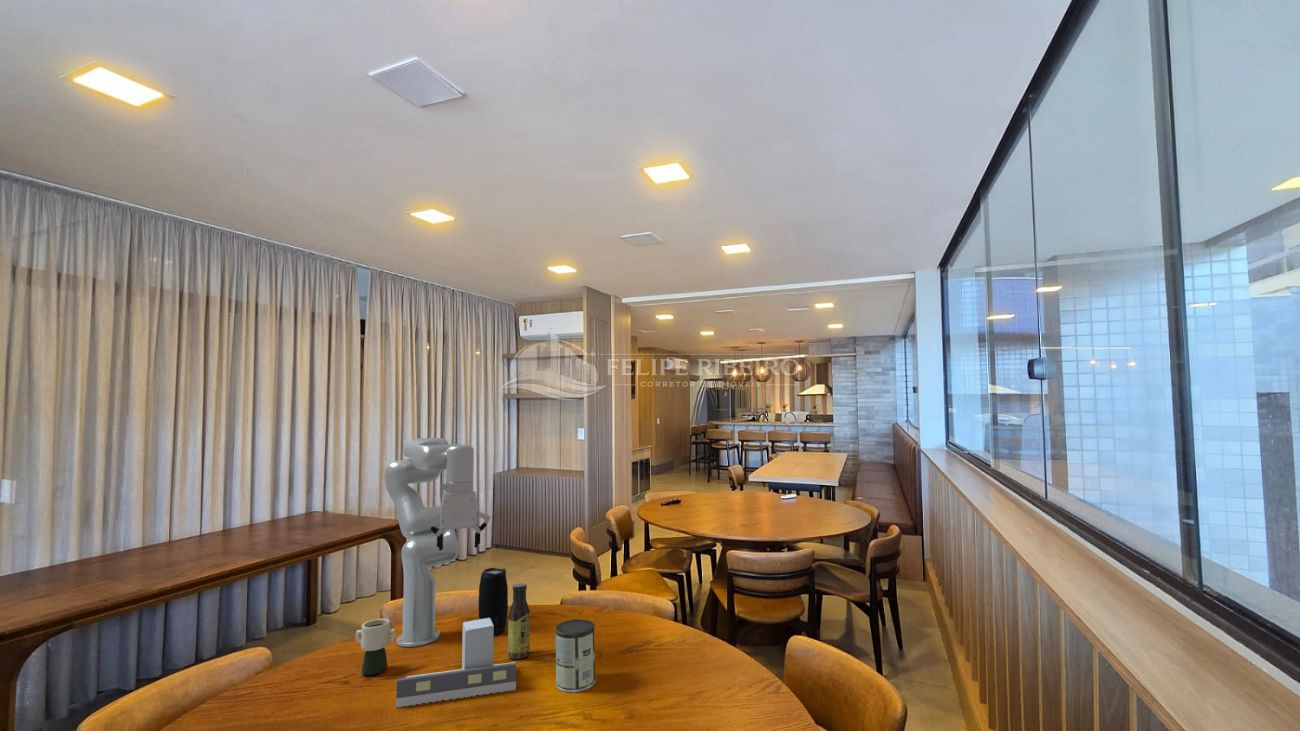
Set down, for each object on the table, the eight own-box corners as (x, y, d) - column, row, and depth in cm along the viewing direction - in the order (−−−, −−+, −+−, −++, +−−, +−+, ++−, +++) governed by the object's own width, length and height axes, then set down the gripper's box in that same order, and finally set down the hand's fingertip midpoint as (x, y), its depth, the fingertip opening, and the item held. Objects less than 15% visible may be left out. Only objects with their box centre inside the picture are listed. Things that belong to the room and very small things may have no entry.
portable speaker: (480, 628, 176) (481, 567, 179) (509, 626, 177) (509, 566, 180) (476, 638, 168) (476, 574, 170) (506, 635, 169) (506, 572, 171)
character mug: (400, 665, 149) (401, 617, 151) (388, 677, 142) (389, 626, 144) (361, 666, 149) (363, 619, 150) (347, 678, 142) (349, 628, 143)
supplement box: (493, 676, 136) (494, 625, 137) (463, 683, 133) (464, 630, 134) (490, 665, 142) (490, 616, 144) (461, 671, 140) (462, 621, 141)
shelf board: (405, 684, 138) (405, 675, 138) (515, 669, 145) (515, 661, 145) (395, 707, 126) (396, 697, 126) (515, 689, 133) (515, 680, 133)
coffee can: (567, 671, 142) (566, 617, 144) (601, 676, 139) (600, 620, 141) (547, 689, 133) (547, 631, 134) (584, 695, 129) (583, 635, 131)
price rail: (397, 696, 128) (397, 678, 128) (515, 679, 135) (515, 662, 135) (396, 698, 126) (396, 681, 127) (515, 681, 133) (515, 664, 134)
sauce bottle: (524, 661, 150) (524, 588, 152) (503, 659, 151) (504, 588, 153) (533, 651, 156) (533, 582, 158) (514, 650, 157) (514, 581, 160)
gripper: (426, 490, 147) (424, 553, 145) (490, 487, 152) (489, 548, 150) (430, 488, 155) (428, 548, 153) (491, 485, 159) (490, 543, 157)
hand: (458, 548), depth 151 cm, fingers open, 9 cm apart
